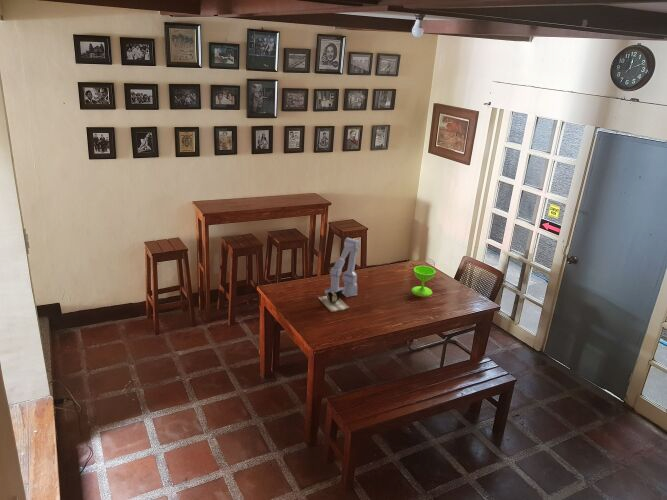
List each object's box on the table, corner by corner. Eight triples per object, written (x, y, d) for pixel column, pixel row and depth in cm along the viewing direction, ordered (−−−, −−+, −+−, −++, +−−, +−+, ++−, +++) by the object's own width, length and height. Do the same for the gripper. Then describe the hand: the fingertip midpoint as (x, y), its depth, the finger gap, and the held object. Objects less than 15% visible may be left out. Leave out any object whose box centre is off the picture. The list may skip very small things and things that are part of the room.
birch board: (335, 295, 390) (335, 293, 389) (349, 308, 372) (349, 307, 371) (318, 298, 384) (318, 297, 384) (331, 312, 366) (331, 310, 365)
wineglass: (436, 295, 399) (439, 273, 392) (418, 297, 393) (420, 275, 386) (425, 285, 412) (428, 264, 405) (407, 288, 407) (410, 267, 400)
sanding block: (326, 296, 382) (327, 292, 380) (332, 295, 384) (332, 291, 382) (331, 302, 376) (331, 297, 374) (336, 301, 378) (337, 296, 376)
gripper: (341, 279, 377) (340, 296, 383) (323, 282, 371) (322, 299, 376) (346, 283, 372) (345, 300, 377) (327, 287, 365) (326, 304, 371)
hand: (334, 300), depth 376 cm, fingers closed on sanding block, 4 cm apart
